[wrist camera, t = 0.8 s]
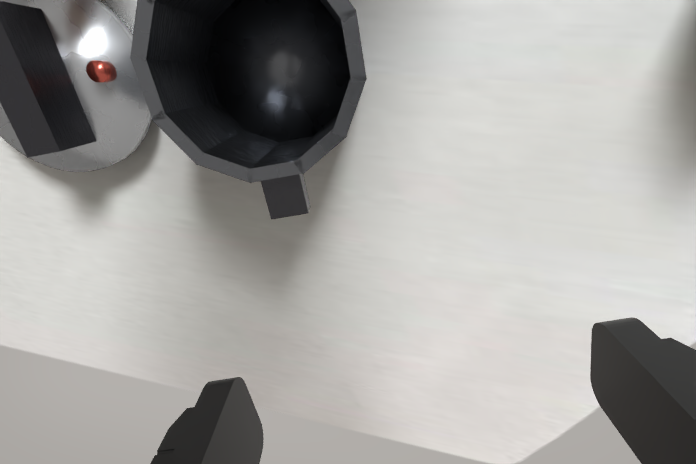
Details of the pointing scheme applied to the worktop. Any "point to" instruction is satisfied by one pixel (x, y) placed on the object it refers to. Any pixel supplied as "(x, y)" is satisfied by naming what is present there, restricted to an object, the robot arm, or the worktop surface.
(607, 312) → the worktop surface
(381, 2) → the worktop surface
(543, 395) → the worktop surface
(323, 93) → the graphite pot
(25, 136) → the steel lid
